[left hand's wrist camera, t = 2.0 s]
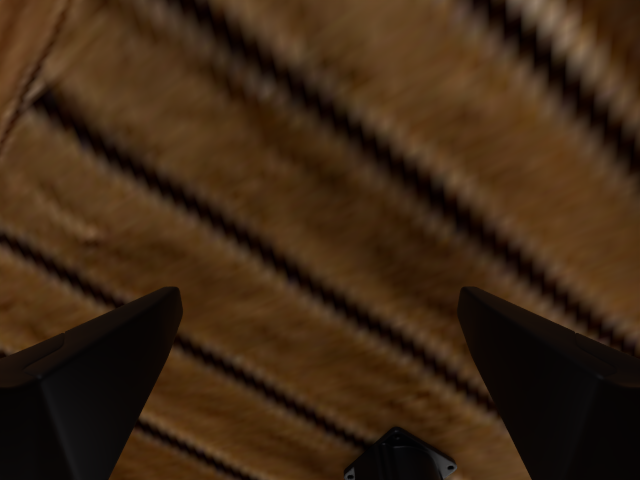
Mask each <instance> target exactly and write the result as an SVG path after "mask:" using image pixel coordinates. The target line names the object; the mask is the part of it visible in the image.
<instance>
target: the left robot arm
mask: <svg viewBox="0 0 640 480" xmlns="http://www.w3.org/2000/svg"><path fill="white" fill-rule="evenodd" d="M182 315H183V308H182V302H181V295H180V291H179V288H177V287H163V288H161V289H159V290H157V291H154V292H152V293H150V294H148V295H145V296H143V297H141V298H139V299H137V300H134V301H132V302H130V303H128V304H125V305H123V306H121V307H119V308H117V309H114V310H112V311H110V312H108V313H106V314H103V315H101V316H99V317H97V318H94V319H92V320H90V321H88V322H86V323H83V324H81V325H79V326H77V327H74V328H72V329H70V330H68V331H66V332H65V333H61V334H59V335H57V336H54V337H52V338H50V339H48V340H45V341H43V342H41V343H38V344H36V345H34V346H32V347H29V348H27V349H24V350H22V351H19V352H17V353H14V354H12V355H10V356H7V357H5V358H2V359H0V480H108V479H109V477H110V475H111V473H112V471H113V469H114V467H115V465H116V463H117V461H118V459H119V457H120V455H121V452H122V450H123V448H124V446H125V444H126V442H127V440H128V438H129V436H130V434H131V432H132V430H133V428H134V426H135V424H136V422H137V420H138V418H139V416H140V414H141V412H142V409H143V407H144V405H145V403H146V401H147V399H148V397H149V395H150V393H151V391H152V389H153V387H154V385H155V383H156V381H157V379H158V377H159V375H160V373H161V371H162V369H163V366H164V364H165V362H166V360H167V358H168V356H169V353H170V350H171V348H172V345H173V342H174V339H175V336H176V333H177V330H178V327H179V324H180V322H181V319H182ZM457 315H458V319H459V322H460V325H461V327H462V330H463V333H464V336H465V339H466V342H467V345H468V348H469V350H470V353H471V356H472V358H473V360H474V362H475V364H476V366H477V369H478V371H479V373H480V375H481V377H482V379H483V381H484V383H485V385H486V387H487V389H488V391H489V393H490V395H491V397H492V399H493V401H494V403H495V405H496V407H497V409H498V412H499V414H500V416H501V418H502V420H503V422H504V424H505V426H506V428H507V430H508V432H509V434H510V436H511V438H512V440H513V442H514V444H515V446H516V448H517V450H518V452H519V455H520V457H521V459H522V461H523V463H524V465H525V467H526V469H527V471H528V473H529V475H530V477H531V479H532V480H640V359H638V358H635V357H633V356H630V355H628V354H626V353H623V352H621V351H618V350H616V349H613V348H611V347H608V346H606V345H604V344H602V343H599V342H597V341H595V340H592V339H590V338H588V337H586V336H583V335H581V334H579V333H575V332H574V331H572V330H570V329H568V328H566V327H563V326H561V325H559V324H557V323H554V322H552V321H550V320H548V319H546V318H543V317H541V316H539V315H537V314H534V313H532V312H530V311H528V310H526V309H523V308H521V307H519V306H517V305H515V304H512V303H510V302H508V301H506V300H503V299H501V298H499V297H497V296H495V295H492V294H490V293H488V292H486V291H483V290H481V289H479V288H477V287H463V288H461V291H460V295H459V302H458V308H457ZM456 469H457V465H456V463H455V460H454V459H452V458H450V457H449V456H447V455H445V454H444V453H442V452H440V451H439V450H437V449H435V448H434V447H432V446H430V445H429V444H427V443H425V442H424V441H422V440H420V439H419V438H417V437H415V436H414V435H412V434H410V433H408V432H407V431H405V430H403V429H402V428H400V427H393V428H392V429H390V430H389V431H388V432H387V433H386V434H385V435H384V436H382V437H381V438H380V439H379V440H378V441H377V442H376V443H374V444H373V445H372V446H371V447H370V448H369V449H368V450H367V451H365V452H364V453H363V454H362V455H361V456H360V457H359V458H357V459H356V460H355V461H354V462H353V463H352V464H351V465H350V466H348V467H347V468H346V469H345V470H344V479H345V480H444V479H445V478H446V477H447V476H449V475H450V474H451V473H452V472H454V471H455V470H456Z"/></svg>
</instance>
